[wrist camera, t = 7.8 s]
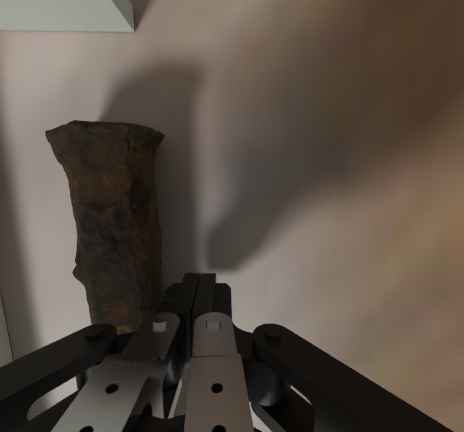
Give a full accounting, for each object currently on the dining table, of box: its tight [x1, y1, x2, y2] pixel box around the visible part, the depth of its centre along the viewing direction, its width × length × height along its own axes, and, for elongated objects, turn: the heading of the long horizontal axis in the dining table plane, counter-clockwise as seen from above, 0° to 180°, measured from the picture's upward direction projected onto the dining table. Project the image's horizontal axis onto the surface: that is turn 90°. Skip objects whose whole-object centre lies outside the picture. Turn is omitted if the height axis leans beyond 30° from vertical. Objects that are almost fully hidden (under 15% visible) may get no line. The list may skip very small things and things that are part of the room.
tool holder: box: [0, 0, 134, 367], centre depth 13 cm, size 9×26×2 cm, turn 0°
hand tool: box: [45, 120, 165, 335], centre depth 13 cm, size 19×4×5 cm, turn 179°
